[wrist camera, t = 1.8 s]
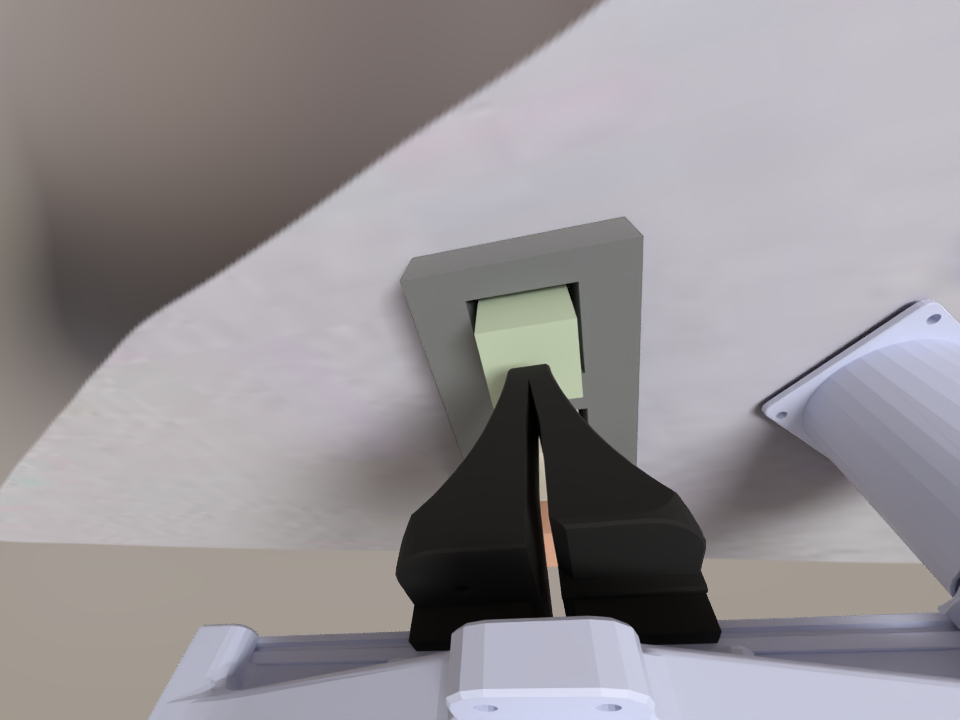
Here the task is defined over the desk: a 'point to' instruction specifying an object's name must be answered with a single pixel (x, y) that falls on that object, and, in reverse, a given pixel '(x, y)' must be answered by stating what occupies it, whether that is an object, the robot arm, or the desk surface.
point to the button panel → (526, 266)
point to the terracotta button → (548, 536)
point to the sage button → (529, 337)
